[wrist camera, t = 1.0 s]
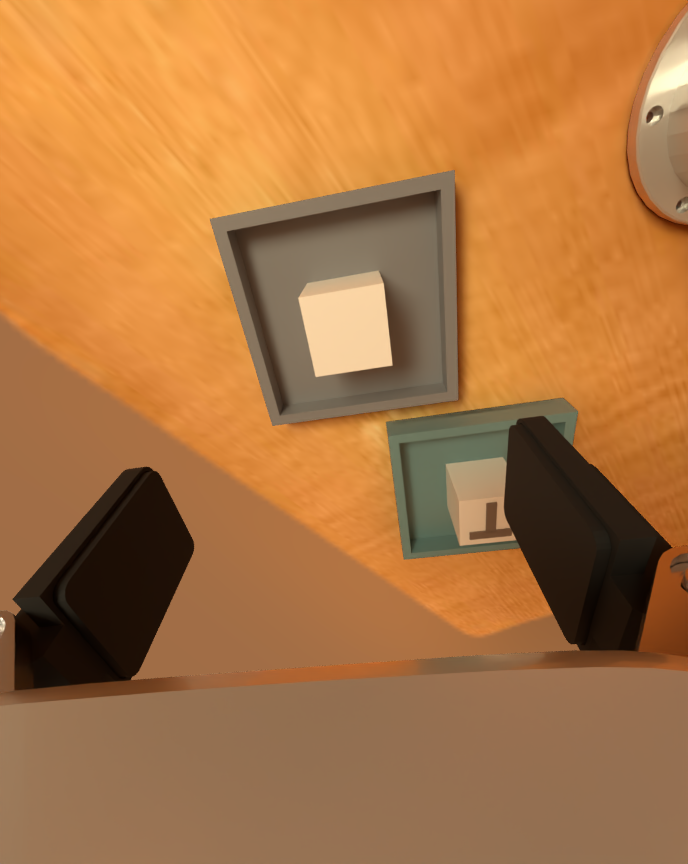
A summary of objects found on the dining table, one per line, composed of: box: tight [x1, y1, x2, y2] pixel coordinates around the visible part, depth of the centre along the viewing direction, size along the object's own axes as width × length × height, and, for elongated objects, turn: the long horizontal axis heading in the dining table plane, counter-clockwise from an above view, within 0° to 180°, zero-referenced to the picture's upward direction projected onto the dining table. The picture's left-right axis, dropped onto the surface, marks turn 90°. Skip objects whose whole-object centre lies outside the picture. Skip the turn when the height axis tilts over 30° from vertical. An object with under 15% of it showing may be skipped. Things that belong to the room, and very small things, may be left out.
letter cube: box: [446, 457, 516, 546], centre depth 33 cm, size 5×5×5 cm
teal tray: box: [386, 398, 578, 559], centre depth 34 cm, size 15×15×2 cm
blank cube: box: [298, 271, 392, 377], centre depth 25 cm, size 5×5×5 cm
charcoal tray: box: [210, 170, 458, 426], centre depth 27 cm, size 15×15×2 cm
